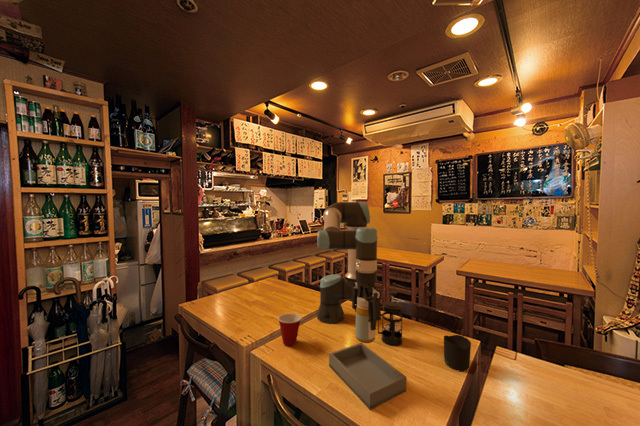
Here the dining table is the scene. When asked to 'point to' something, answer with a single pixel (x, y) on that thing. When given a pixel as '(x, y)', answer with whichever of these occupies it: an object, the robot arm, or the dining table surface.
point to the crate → (367, 374)
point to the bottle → (362, 321)
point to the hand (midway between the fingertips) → (365, 333)
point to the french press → (391, 323)
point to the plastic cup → (289, 328)
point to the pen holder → (457, 352)
